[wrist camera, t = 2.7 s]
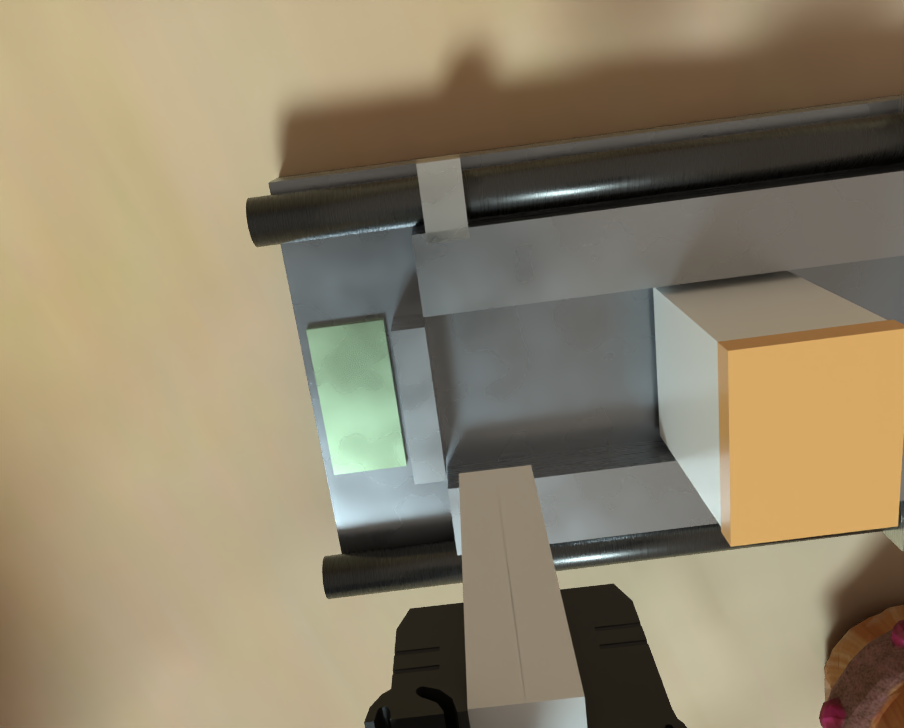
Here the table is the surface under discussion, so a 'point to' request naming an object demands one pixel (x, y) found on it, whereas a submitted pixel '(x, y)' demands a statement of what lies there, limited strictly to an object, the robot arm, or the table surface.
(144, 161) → the table surface
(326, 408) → the panel
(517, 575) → the robot arm
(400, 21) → the table surface
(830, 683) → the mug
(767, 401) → the orange grey block
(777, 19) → the table surface
